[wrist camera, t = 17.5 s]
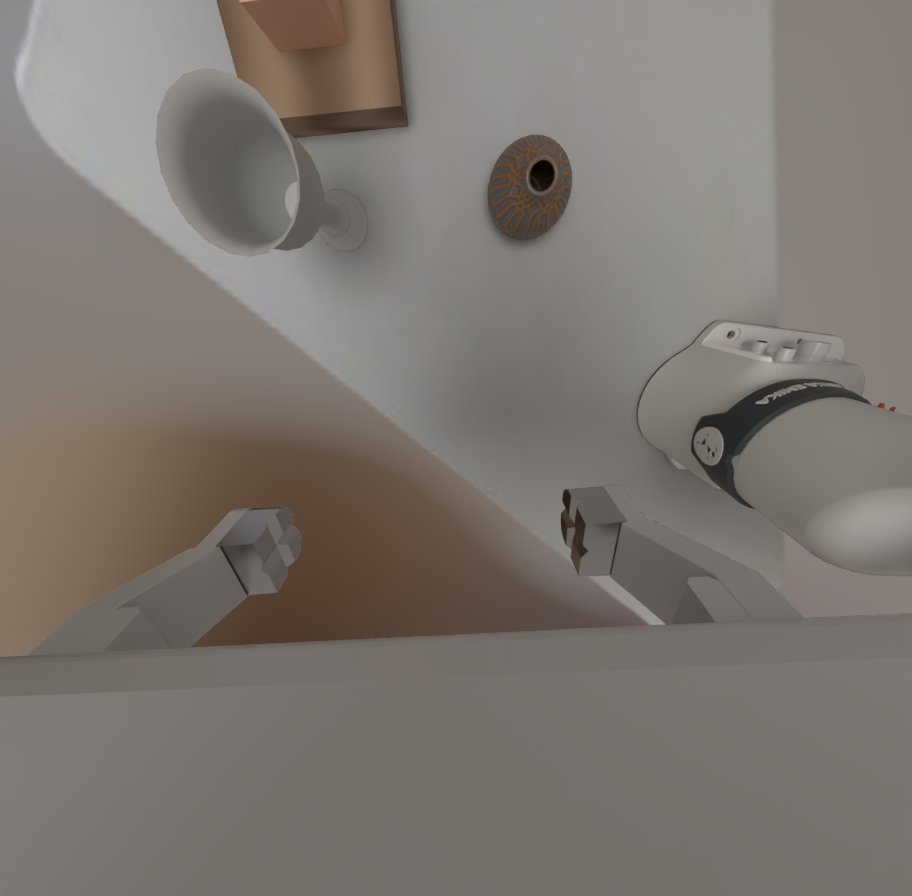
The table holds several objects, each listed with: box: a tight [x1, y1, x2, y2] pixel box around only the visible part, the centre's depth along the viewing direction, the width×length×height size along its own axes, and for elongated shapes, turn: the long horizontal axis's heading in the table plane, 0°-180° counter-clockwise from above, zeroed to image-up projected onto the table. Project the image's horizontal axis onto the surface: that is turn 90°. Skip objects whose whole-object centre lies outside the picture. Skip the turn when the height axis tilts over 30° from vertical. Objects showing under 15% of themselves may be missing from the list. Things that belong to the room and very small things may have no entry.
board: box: [217, 0, 408, 138], centre depth 25 cm, size 12×12×4 cm
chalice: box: [156, 68, 367, 257], centre depth 24 cm, size 7×7×18 cm
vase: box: [488, 135, 572, 239], centre depth 28 cm, size 7×7×9 cm
